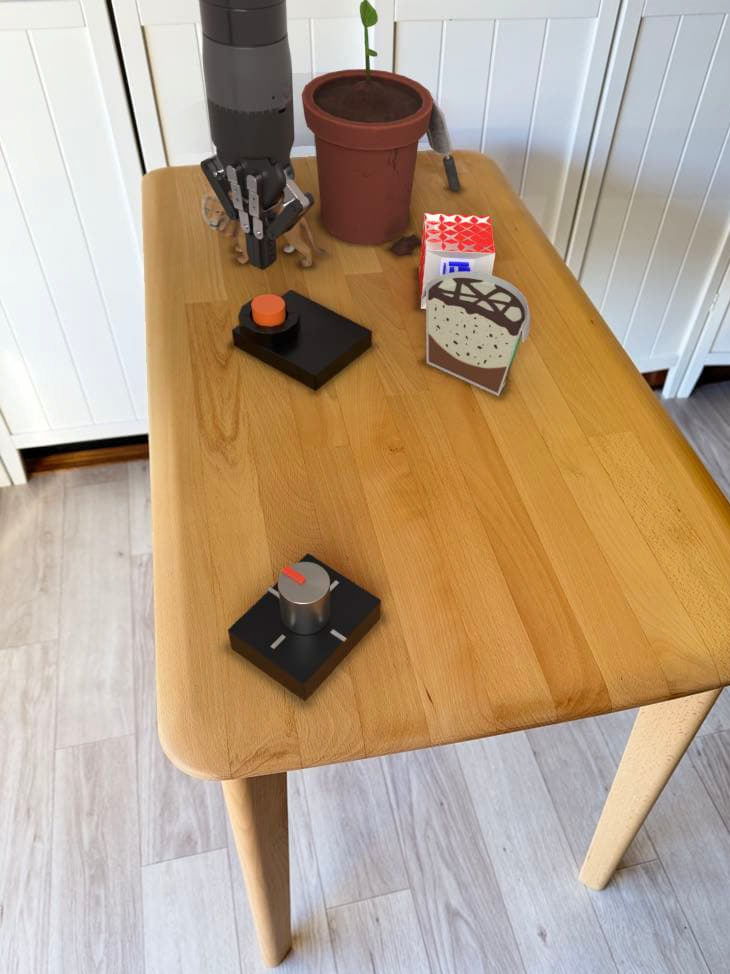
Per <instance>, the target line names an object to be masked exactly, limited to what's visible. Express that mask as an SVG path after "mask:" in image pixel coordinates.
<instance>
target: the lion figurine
mask: <svg viewBox="0 0 730 974" xmlns="http://www.w3.org/2000/svg"><path fill="white" fill-rule="evenodd" d="M228 194H229V196H230V198H231V200H232V202H233V197H232V192H231V191H230V192H229V193H228ZM200 198H201V216H202V218H203V220H204V221H205V222H206V224H208V225H209V227H210V229H211V230H215V231H218V232H221V234H222V235H223V237H225V238H232V239H233V238H236V241H237V245H236V246H235V251H236V252H241V255H239V256H238V257H237V261H238V263H240V264H242V265H243V264H246V263H248V262H249V261H250V259H249V257H248V254H247V247H246V237H245V232H244V231H243V230H242V228H241V224H240V222H239V221H237V220H234V221H233V220H231V219H230V218H229V217H228V215H227V214H226V212H225V210H224V208H223V206H222V205H221V203H220V201H219V199H218V197H217V196H216V194H215V192H214V190H213V188H212V187H210V188H209V189H207V190H206V191H205V192H204V194H202V195H201V196H200ZM233 204H234V203H233ZM283 210H284V209H282V208H281V209H280V211H279V214H280V213H281V212H282V211H283ZM266 220H267V218H266ZM302 227H303V230H304V231H305V234H306V237H307V239H308V241H309V244H310V246H311V248H312V249H313V251H314V252H315V253H317V255H325V254H326V253H327V252H326V250H325V249H323V248H320V247H317V245H316V243H315V240H314V237H313V233H312V231H311V228H310V225H309V224H308V222H307V220H306V218H305V217H304V216H303V217H302V218H301V219H300V220H299V222H298V223H297V224H296V225H295V226H294V227H293V228H292V229H291V230H290V231H289V232H286V233H284V234H283V237H284V238H285V240H286V241H287V243H289V244H286V245H284V246H283V251H284V252H285V253H293V252H294V251H295V250H297V251H299V252H300V253H301V254H302V255H304V257H305V258H303V259H302V260H301V264H302V266H303V267H305V268H307V267H311V265H313V261H314V259H313V254H312V250H311V248H310V246H309V245H307V244H306V243H305V240H304V239H303V237H302V233H301V232H302V230H301V228H302Z"/></svg>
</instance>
